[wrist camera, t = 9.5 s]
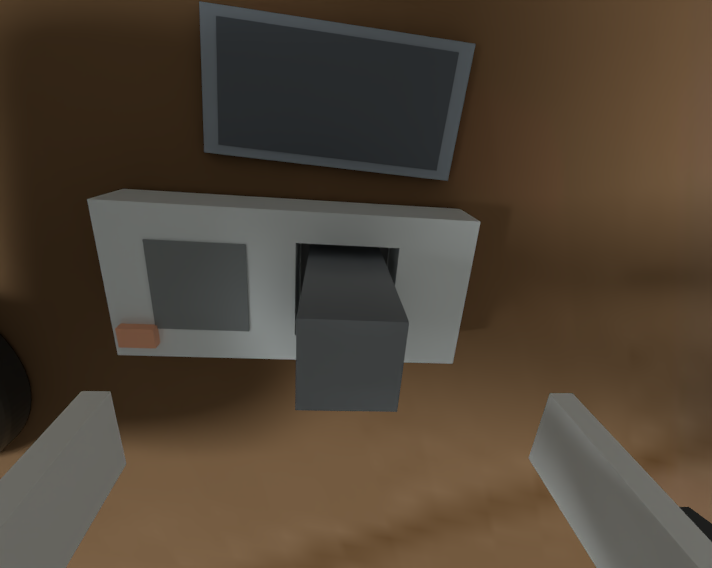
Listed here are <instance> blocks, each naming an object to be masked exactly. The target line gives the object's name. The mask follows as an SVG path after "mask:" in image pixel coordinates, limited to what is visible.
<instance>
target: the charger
mask: <svg viewBox="0 0 712 568" xmlns="http://www.w3.org/2000/svg"><path fill="white" fill-rule="evenodd" d="M408 328H409V320H408V318H407V315H406V313H405V310H404V308H403V305H402V303H401V300H400V298H399V295H398V293H397V290H396V288H395V285H394V283H393V280H392V278H391V275H390V273H389V270H388V268H387V265H386V263H385V260H384V258H383V255H382V253H381V250H380V248H379V247H365V246H345V245H326V244H310V249H309V254H308V260H307V265H306V270H305V276H304V281H303V286H302V291H301V297H300V302H299V307H298V313H297V318H296V399H295V410H324V411H391V412H397V408H398V400H399V393H400V386H401V379H402V372H403V364H404V357H405V350H406V343H407V335H408Z"/></svg>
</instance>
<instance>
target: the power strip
mask: <svg viewBox="0 0 712 568" xmlns="http://www.w3.org/2000/svg"><path fill="white" fill-rule="evenodd" d="M87 202H88V207H89V212H90V217H91V222H92V227H93V232H94V237H95V243H96V248H97V253H98V258H99V263H100V268H101V273H102V278H103V283H104V288H105V293H106V298H107V303H108V308H109V313H110V318H111V324H112V329H113V334H114V339H115V344H116V349H117V354H118V355H136V356H175V357H214V358H253V359H291V360H296V318H297V313H298V307H299V302H300V297H301V291H302V286H303V281H304V276H305V270H306V265H307V260H308V254H309V249H310V244H326V245H345V246H365V247H379V248H380V250H381V253H382V255H383V258H384V260H385V263H386V265H387V268H388V270H389V273H390V275H391V278H392V280H393V283H394V285H395V288H396V290H397V293H398V295H399V298H400V300H401V303H402V305H403V308H404V310H405V313H406V315H407V318H408V320H409V328H408V335H407V343H406V350H405V357H404V362H408V363H446V364H453V359H454V354H455V349H456V344H457V339H458V334H459V329H460V324H461V319H462V314H463V308H464V303H465V298H466V293H467V288H468V283H469V278H470V273H471V268H472V263H473V258H474V253H475V248H476V242H477V237H478V232H479V227H480V221H479V220H477V219H475V218H474V217H472V216H471V215H469V214H467V213H466V212H464V211H463V210H461V209H454V208H437V207H420V206H404V205H387V204H370V203H354V202H337V201H320V200H304V199H287V198H270V197H253V196H237V195H220V194H203V193H187V192H170V191H153V190H137V189H121V190H117V191H114V192H110V193H107V194H103V195H100V196H96V197H93V198H89V199H87Z"/></svg>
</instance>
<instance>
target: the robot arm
mask: <svg viewBox="0 0 712 568" xmlns="http://www.w3.org/2000/svg"><path fill="white" fill-rule="evenodd" d="M30 407H31V391H30V385H29V382H28V378H27V375H26V373H25V370H24V368H23V366H22V364H21V362H20V360H19V359H18V357H17V355H16V354H15V352H14V351H13V350H12V348H11V347H10V346H9V344H8V343H7V342H6V341H5V340H4V338H3V337H2V336H1V335H0V452H1V451H2V450H3V449H4V448H5V447H6V446H7V445H8V444H9V443H10V442H11V441H12V440H13V439H14V438H15V437H16V436H17V435H18V434H19V433H20V431H21V430H22V429H23V427H24V425H25V423H26V421H27V419H28V416H29V412H30ZM529 460H530V461H531V463H532V464H533V466H534V468H535V469H536V471H537V473H538V474H539V476H540V477H541V479H542V481H543V482H544V484H545V485H546V487H547V489H548V490H549V492H550V493H551V495H552V497H553V498H554V500H555V502H556V503H557V505H558V506H559V508H560V510H561V511H562V513H563V514H564V516H565V518H566V519H567V521H568V522H569V524H570V526H571V527H572V529H573V531H574V532H575V534H576V535H577V537H578V539H579V540H580V542H581V543H582V545H583V547H584V548H585V550H586V551H587V553H588V555H589V556H590V558H591V560H592V561H593V563H594V564H595V566H596V568H712V524H711V523H710V522H709V521H707V520H706V519H704V518H703V517H702V516H700V515H699V514H698V513H696V512H695V511H693V510H692V509H691V508H689V507H679V506H678V505H677V504H676V503H675V502H674V501H673V500H672V499H671V498H670V497H669V496H668V495H667V494H666V493H665V492H664V490H663V489H662V488H661V487H660V486H659V485H658V484H657V483H656V482H655V481H654V480H653V479H652V478H651V477H650V476H649V474H648V473H647V472H646V471H645V470H644V469H643V468H642V467H641V466H640V465H639V464H638V463H637V462H636V461H635V460H634V458H633V457H632V456H631V455H630V454H629V453H628V452H627V451H626V450H625V449H624V448H623V447H622V446H621V445H620V444H619V442H618V441H617V440H616V439H615V438H614V437H613V436H612V435H611V434H610V433H609V432H608V431H607V430H606V429H605V427H604V426H603V425H602V424H601V423H600V422H599V421H598V420H597V419H596V418H595V417H594V416H593V415H592V414H591V413H590V411H589V410H588V409H587V408H586V407H585V406H584V405H583V404H582V403H581V402H580V401H579V400H578V399H577V398H576V397H575V395H574V394H573V393H550V394H549V397H548V400H547V403H546V406H545V409H544V413H543V416H542V419H541V422H540V425H539V428H538V431H537V434H536V437H535V440H534V443H533V446H532V449H531V452H530V455H529ZM125 465H126V460H125V456H124V451H123V447H122V442H121V437H120V433H119V428H118V424H117V419H116V415H115V410H114V405H113V401H112V396H111V392H110V391H81V392H80V393H79V394H78V395H77V396H76V398H75V399H74V400H73V401H72V402H71V403H70V404H69V405H68V406H67V407H66V408H65V410H64V411H63V412H62V413H61V414H60V415H59V416H58V417H57V418H56V419H55V420H54V422H53V423H52V424H51V425H50V426H49V427H48V428H47V429H46V430H45V431H44V433H43V434H42V435H41V436H40V437H39V438H38V439H37V440H36V441H35V442H34V443H33V445H32V446H31V447H30V448H29V449H28V450H27V451H26V452H25V453H24V454H23V455H22V457H21V458H20V459H19V460H18V461H17V462H16V463H15V464H14V465H13V466H12V468H11V469H10V470H9V471H8V472H7V473H6V474H5V475H4V476H3V477H2V478H1V480H0V568H66V566H67V565H68V563H69V561H70V559H71V558H72V556H73V554H74V553H75V551H76V549H77V547H78V546H79V544H80V542H81V541H82V539H83V537H84V535H85V534H86V532H87V530H88V529H89V527H90V525H91V523H92V522H93V520H94V518H95V517H96V515H97V513H98V511H99V510H100V508H101V506H102V505H103V503H104V501H105V499H106V498H107V496H108V494H109V493H110V491H111V489H112V487H113V486H114V484H115V482H116V481H117V479H118V477H119V475H120V474H121V472H122V470H123V469H124V467H125Z"/></svg>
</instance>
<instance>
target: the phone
mask: <svg viewBox="0 0 712 568" xmlns="http://www.w3.org/2000/svg"><path fill="white" fill-rule="evenodd" d="M199 10H200V41H201V71H202V102H203V132H204V152H205V153H214V154H223V155H231V156H240V157H248V158H257V159H265V160H274V161H282V162H291V163H299V164H308V165H316V166H325V167H334V168H342V169H351V170H359V171H368V172H376V173H385V174H393V175H402V176H410V177H419V178H428V179H436V180H445V181H448V177H449V172H450V167H451V162H452V157H453V153H454V148H455V143H456V138H457V133H458V128H459V123H460V118H461V113H462V108H463V104H464V99H465V94H466V89H467V84H468V79H469V74H470V69H471V64H472V59H473V54H474V50H475V45H476V44H474V43H467V42H461V41H454V40H448V39H441V38H435V37H428V36H422V35H415V34H409V33H402V32H396V31H389V30H383V29H376V28H370V27H363V26H357V25H350V24H344V23H337V22H331V21H324V20H318V19H311V18H305V17H298V16H292V15H285V14H279V13H272V12H266V11H259V10H253V9H246V8H240V7H233V6H227V5H220V4H214V3H207V2H201V1H199Z"/></svg>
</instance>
